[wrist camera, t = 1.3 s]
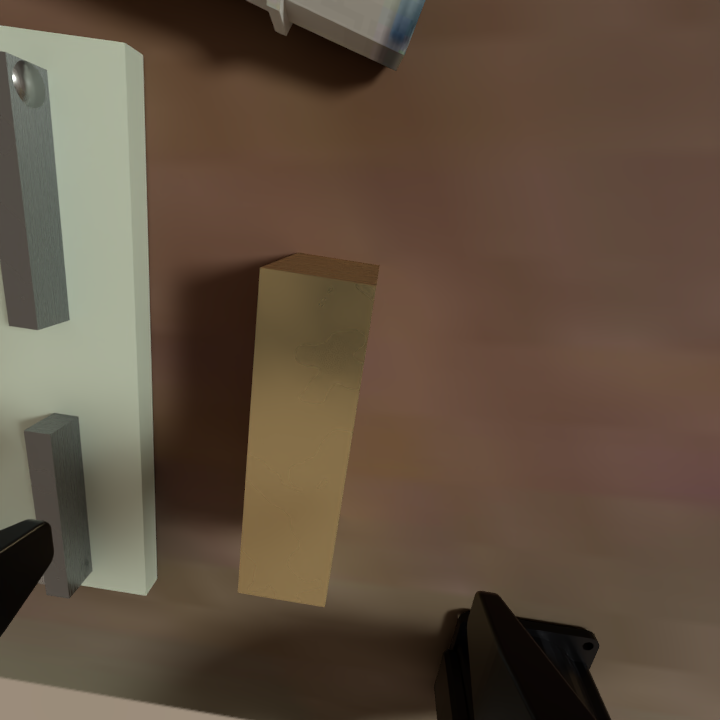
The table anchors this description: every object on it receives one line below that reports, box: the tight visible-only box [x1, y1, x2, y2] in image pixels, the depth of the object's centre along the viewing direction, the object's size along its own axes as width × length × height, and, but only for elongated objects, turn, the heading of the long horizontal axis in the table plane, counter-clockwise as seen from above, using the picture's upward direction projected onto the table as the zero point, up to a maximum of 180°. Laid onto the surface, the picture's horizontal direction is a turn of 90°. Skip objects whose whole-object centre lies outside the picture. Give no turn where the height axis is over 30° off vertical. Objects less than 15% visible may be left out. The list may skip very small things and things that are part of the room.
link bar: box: [238, 253, 380, 607], centre depth 15 cm, size 3×11×5 cm, turn 172°
